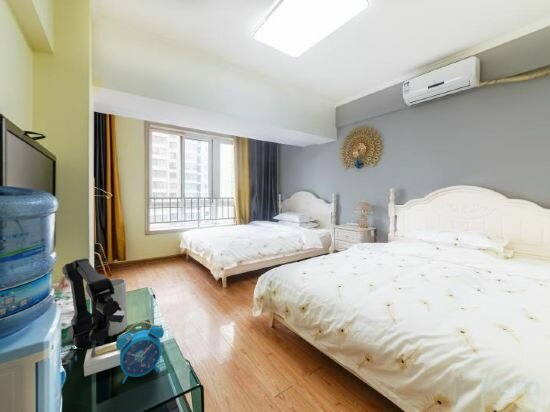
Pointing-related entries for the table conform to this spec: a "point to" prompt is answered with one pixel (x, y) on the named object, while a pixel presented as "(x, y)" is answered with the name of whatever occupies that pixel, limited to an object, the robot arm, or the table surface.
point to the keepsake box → (100, 360)
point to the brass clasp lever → (106, 349)
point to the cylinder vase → (121, 299)
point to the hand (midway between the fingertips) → (101, 344)
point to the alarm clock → (140, 350)
